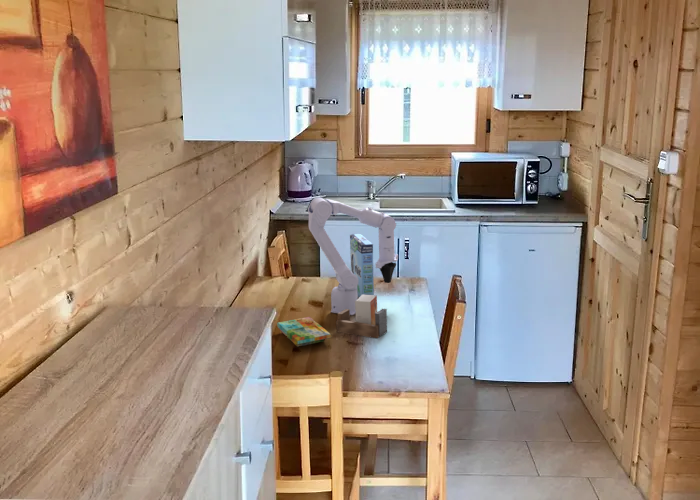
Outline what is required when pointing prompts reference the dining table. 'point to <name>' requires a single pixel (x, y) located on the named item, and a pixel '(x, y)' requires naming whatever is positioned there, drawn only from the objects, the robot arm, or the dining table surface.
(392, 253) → the robot arm
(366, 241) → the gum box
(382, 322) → the bookend
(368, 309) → the small box
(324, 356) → the dining table surface
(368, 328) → the walnut shelf corner
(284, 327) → the puzzle game
